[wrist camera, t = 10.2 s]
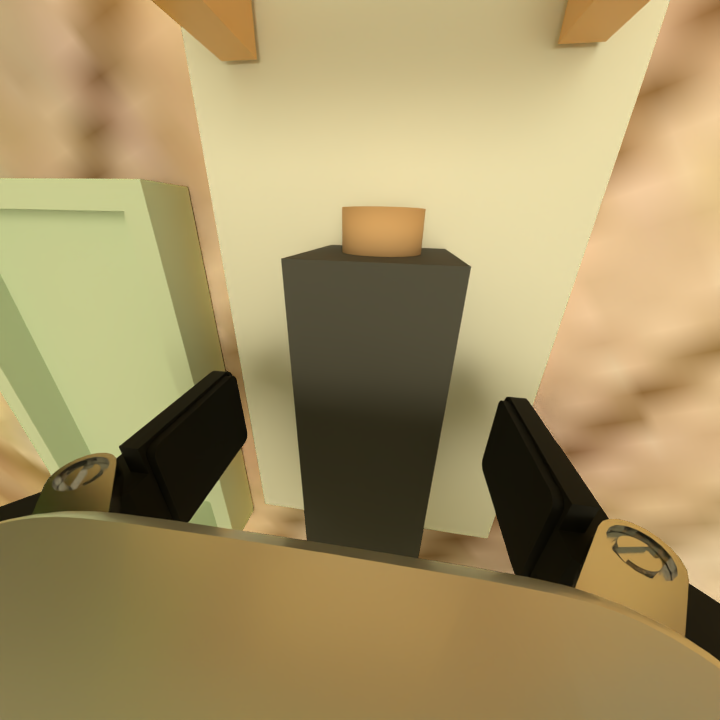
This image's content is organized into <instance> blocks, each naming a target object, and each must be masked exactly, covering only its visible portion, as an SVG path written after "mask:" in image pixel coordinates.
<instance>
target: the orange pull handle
mask: <svg viewBox="0 0 720 720" xmlns="http://www.w3.org/2000/svg"><path fill="white" fill-rule="evenodd" d="M152 1H153V2H154V3H155V4H156V5H157V6H159V7H160V8H161V9H162V10H163V11H164V12H165V13H167V14H168V15H169V16H170V17H171V18H172V19H174V20H175V21H176V22H177V23H178V24H179V25H180V26H182V27H183V28H184V29H185V30H186V31H187V32H188V33H190V34H191V35H192V36H193V37H194V38H195V39H197V40H198V41H199V42H200V43H201V44H202V45H203V46H205V47H206V48H207V49H208V50H209V51H210V52H212V53H213V54H214V55H215V56H216V57H217V58H218V59H220V60H221V61H237V60H257V54H256V44H255V34H254V24H253V14H252V3H251V0H152ZM649 1H650V0H568V2H567V7H566V11H565V15H564V20H563V24H562V28H561V32H560V37H559V41H558V44H572V43H592V42H606V41H607V40H608V39H609V38H610V37H611V36H612V35H613V34H614V33H616V32H617V31H618V30H619V29H620V28H621V27H622V26H623V25H624V24H625V23H626V22H627V21H629V20H630V19H631V18H632V17H633V16H634V15H635V14H636V13H637V12H638V11H639V10H641V9H642V8H643V7H644V6H645V5H646V4H647V3H648V2H649Z"/></svg>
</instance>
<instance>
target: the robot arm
mask: <svg viewBox="0 0 720 720" xmlns="http://www.w3.org/2000/svg"><path fill="white" fill-rule="evenodd" d="M246 439H247V429H246V424H245V419H244V414H243V410H242V405H241V400H240V395H239V390H238V385H237V380H236V378H235V377H234V376H232V374H231V373H230V372H224V371H212V372H211V373H209V374H208V375H207V376H206V377H204V378H203V379H202V380H201V381H199V382H198V383H197V384H196V385H194V386H193V387H192V388H191V389H189V390H188V391H187V392H186V393H184V394H183V395H182V396H181V397H180V398H178V399H177V400H176V401H175V402H173V403H172V404H171V405H170V406H168V407H167V408H166V409H165V410H163V411H162V412H161V413H160V414H158V415H157V416H156V417H155V418H153V419H152V420H151V421H150V422H149V423H147V424H146V425H145V426H144V427H142V428H141V429H140V430H139V431H137V432H136V433H135V434H134V435H132V436H131V437H130V438H129V439H127V440H126V441H125V442H124V443H122V444H121V445H120V446H119V449H120V451H121V453H122V454H121V455H120V456H118V457H117V458H116V457H115V456H114V455H112V454H110V453H95V454H90V455H86V456H84V457H81V458H78V459H76V460H74V461H72V462H70V463H68V464H66V465H64V466H63V467H61V468H60V469H58V470H57V471H56V472H55V473H53V474H52V475H51V476H50V477H49V478H48V480H47V481H46V483H45V484H44V487H43V489H42V492H40V493H37V494H34V495H32V496H29V497H26V498H23V499H21V500H18V501H15V502H12V503H10V504H7V505H4V506H1V507H0V720H720V603H718V602H717V601H715V600H714V599H712V598H711V597H709V596H707V595H706V594H704V593H703V592H701V591H700V590H698V589H697V588H695V587H694V586H692V585H691V584H689V578H688V573H687V569H686V568H685V566H684V564H683V563H682V561H681V559H680V558H679V557H678V556H677V555H676V553H675V552H674V551H673V550H672V549H671V548H670V547H669V546H668V545H667V544H666V543H664V542H663V541H662V540H661V539H660V538H658V537H657V536H655V535H654V534H652V533H651V532H649V531H648V530H646V529H644V528H642V527H640V526H638V525H636V524H634V523H631V522H628V521H624V520H621V519H609V518H608V517H607V515H606V514H605V512H604V511H603V509H602V508H601V506H600V505H599V504H598V502H597V501H596V499H595V498H594V496H593V495H592V493H591V492H590V490H589V489H588V487H587V486H586V484H585V483H584V481H583V480H582V478H581V477H580V475H579V474H578V472H577V471H576V469H575V468H574V467H573V465H572V464H571V462H570V461H569V459H568V458H567V456H566V455H565V453H564V452H563V450H562V449H561V447H560V446H559V445H558V444H557V443H556V441H555V440H554V438H553V437H552V435H551V434H550V432H549V431H548V429H547V428H546V426H545V425H544V423H543V422H542V420H541V419H540V417H539V416H538V414H537V413H536V411H535V410H534V408H533V407H532V405H531V404H530V402H529V401H528V400H527V399H526V398H517V397H506V398H505V400H504V401H502V400H501V401H499V403H498V406H497V410H496V413H495V417H494V420H493V424H492V427H491V431H490V434H489V438H488V441H487V445H486V448H485V452H484V455H483V459H482V470H483V474H484V477H485V480H486V483H487V487H488V490H489V493H490V496H491V500H492V503H493V506H494V509H495V513H496V516H497V519H498V522H499V526H500V529H501V532H502V535H503V539H504V542H505V545H506V548H507V552H508V555H509V558H510V561H511V565H512V568H513V571H514V573H515V575H514V574H508V573H502V572H497V571H491V570H486V569H480V568H474V567H469V566H463V565H457V564H451V563H445V562H438V561H432V560H426V559H420V558H414V557H407V556H401V555H395V554H389V553H382V552H376V551H370V550H364V549H357V548H351V547H345V546H338V545H332V544H325V543H319V542H312V541H306V540H300V539H293V538H287V537H280V536H274V535H267V534H261V533H254V532H247V531H241V530H234V529H227V528H221V527H214V526H207V525H200V524H194V523H188V522H189V521H190V520H191V518H192V517H193V516H194V514H195V513H196V511H197V510H198V508H199V507H200V506H201V504H202V503H203V501H204V500H205V499H206V497H207V496H208V494H209V493H210V491H211V490H212V489H213V487H214V486H215V484H216V483H217V482H218V480H219V479H220V477H221V476H222V474H223V473H224V472H225V470H226V469H227V467H228V466H229V464H230V463H231V462H232V460H233V459H234V457H235V456H236V455H237V453H238V452H239V450H240V449H241V447H242V446H243V445H244V443H245V441H246Z"/></svg>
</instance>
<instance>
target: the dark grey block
mask: <svg viewBox="0 0 720 720" xmlns="http://www.w3.org/2000/svg"><path fill="white" fill-rule="evenodd" d="M425 211H426V209H423V208H411V207H384V206H351V207H342V245H329V246H325V247H321V248H318V249H314V250H310V251H307V252H303V253H300V254H296V255H292V256H289V257H285V258H281V264H282V275H283V286H284V297H285V308H286V319H287V329H288V340H289V351H290V362H291V373H292V384H293V394H294V405H295V416H296V427H297V438H298V449H299V459H300V470H301V481H302V492H303V503H304V514H305V525H306V535H307V541H312V542H319V543H325V544H332V545H338V546H345V547H351V548H357V549H364V550H370V551H376V552H382V553H389V554H395V555H401V556H407V557H414V558H418V556H419V551H420V545H421V540H422V534H423V529H424V523H425V518H426V512H427V507H428V501H429V496H430V490H431V485H432V479H433V474H434V468H435V463H436V457H437V452H438V446H439V441H440V435H441V430H442V425H443V419H444V414H445V408H446V403H447V397H448V392H449V386H450V381H451V375H452V370H453V364H454V359H455V353H456V348H457V342H458V337H459V331H460V326H461V320H462V315H463V309H464V304H465V298H466V293H467V287H468V282H469V276H470V271H471V266H470V265H468V264H467V263H465V262H464V261H462V260H461V259H459V258H458V257H457V256H455V255H454V254H452V253H451V252H449V251H448V250H446V249H438V248H422V239H423V230H424V220H425Z"/></svg>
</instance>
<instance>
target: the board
mask: <svg viewBox="0 0 720 720" xmlns="http://www.w3.org/2000/svg"><path fill="white" fill-rule="evenodd" d="M567 2H568V0H251V3H252V14H253V24H254V34H255V44H256V54H257V60H237V61H221V60H220V59H218V58H217V57H216V56H215V55H214V54H213V53H212V52H210V51H209V50H208V49H207V48H206V47H205V46H203V45H202V44H201V43H200V42H199V41H198V40H197V39H195V38H194V37H193V36H192V35H191V34H190V33H188V32H187V31H186V30H185V29H184V28H183V27H182V26H181V30H182V36H183V41H184V47H185V53H186V58H187V64H188V70H189V75H190V81H191V87H192V92H193V98H194V103H195V109H196V115H197V120H198V126H199V132H200V137H201V143H202V149H203V154H204V160H205V166H206V171H207V177H208V183H209V188H210V194H211V200H212V205H213V211H214V217H215V222H216V228H217V234H218V239H219V245H220V251H221V256H222V262H223V268H224V273H225V279H226V285H227V290H228V296H229V302H230V307H231V313H232V319H233V324H234V330H235V335H236V341H237V347H238V352H239V358H240V364H241V369H242V375H243V381H244V386H245V392H246V398H247V403H248V409H249V415H250V420H251V426H252V432H253V437H254V443H255V449H256V454H257V460H258V466H259V471H260V477H261V483H262V488H263V494H264V500H265V504H270V505H277V506H283V507H290V508H296V509H302V510H304V503H303V492H302V481H301V470H300V459H299V449H298V438H297V427H296V416H295V405H294V394H293V384H292V373H291V362H290V351H289V340H288V329H287V319H286V308H285V297H284V286H283V275H282V264H281V258H285V257H289V256H292V255H296V254H300V253H303V252H307V251H310V250H314V249H318V248H321V247H325V246H329V245H342V207H351V206H384V207H411V208H423V209H426V211H425V220H424V230H423V239H422V248H438V249H446V250H448V251H449V252H451V253H452V254H454V255H455V256H457V257H458V258H459V259H461V260H462V261H464V262H465V263H467V264H468V265H470V266H471V271H470V276H469V282H468V287H467V293H466V298H465V304H464V309H463V315H462V320H461V326H460V331H459V337H458V342H457V348H456V353H455V359H454V364H453V370H452V375H451V381H450V386H449V392H448V397H447V403H446V408H445V414H444V419H443V425H442V430H441V435H440V441H439V446H438V452H437V457H436V463H435V468H434V474H433V479H432V485H431V490H430V496H429V501H428V507H427V512H426V518H425V523H424V529H430V530H436V531H442V532H449V533H455V534H462V535H468V536H474V537H481V538H487V539H488V536H489V533H490V530H491V527H492V524H493V521H494V518H495V515H496V513H495V509H494V506H493V503H492V500H491V496H490V493H489V490H488V487H487V483H486V480H485V477H484V474H483V470H482V459H483V455H484V452H485V448H486V445H487V441H488V438H489V434H490V431H491V427H492V424H493V420H494V417H495V413H496V410H497V406H498V403H499V401H501V400H502V401H504V400H505V398H506V397H517V398H526V399H527V400H528V401H529V402H530V404H531V405H532V406H533V403H534V400H535V397H536V394H537V391H538V388H539V385H540V382H541V379H542V376H543V373H544V370H545V368H546V365H547V362H548V359H549V356H550V353H551V350H552V347H553V344H554V341H555V338H556V335H557V332H558V329H559V326H560V323H561V320H562V317H563V314H564V312H565V309H566V306H567V303H568V300H569V297H570V294H571V291H572V288H573V285H574V282H575V279H576V276H577V273H578V270H579V267H580V264H581V261H582V258H583V256H584V253H585V250H586V247H587V244H588V241H589V238H590V235H591V232H592V229H593V226H594V223H595V220H596V217H597V214H598V211H599V208H600V205H601V202H602V200H603V197H604V194H605V191H606V188H607V185H608V182H609V179H610V176H611V173H612V170H613V167H614V164H615V161H616V158H617V155H618V152H619V149H620V146H621V143H622V141H623V138H624V135H625V132H626V129H627V126H628V123H629V120H630V117H631V114H632V111H633V108H634V105H635V102H636V99H637V96H638V93H639V90H640V87H641V85H642V82H643V79H644V76H645V73H646V70H647V67H648V64H649V61H650V58H651V55H652V52H653V49H654V46H655V43H656V40H657V37H658V34H659V31H660V29H661V26H662V23H663V20H664V17H665V14H666V11H667V8H668V5H669V2H670V0H650V1H649V2H648V3H647V4H646V5H645V6H644V7H643V8H642V9H641V10H639V11H638V12H637V13H636V14H635V15H634V16H633V17H632V18H631V19H630V20H629V21H627V22H626V23H625V24H624V25H623V26H622V27H621V28H620V29H619V30H618V31H617V32H616V33H614V34H613V35H612V36H611V37H610V38H609V39H608V40H607V41H606V42H592V43H572V44H558V41H559V37H560V32H561V28H562V24H563V20H564V15H565V11H566V7H567Z"/></svg>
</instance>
